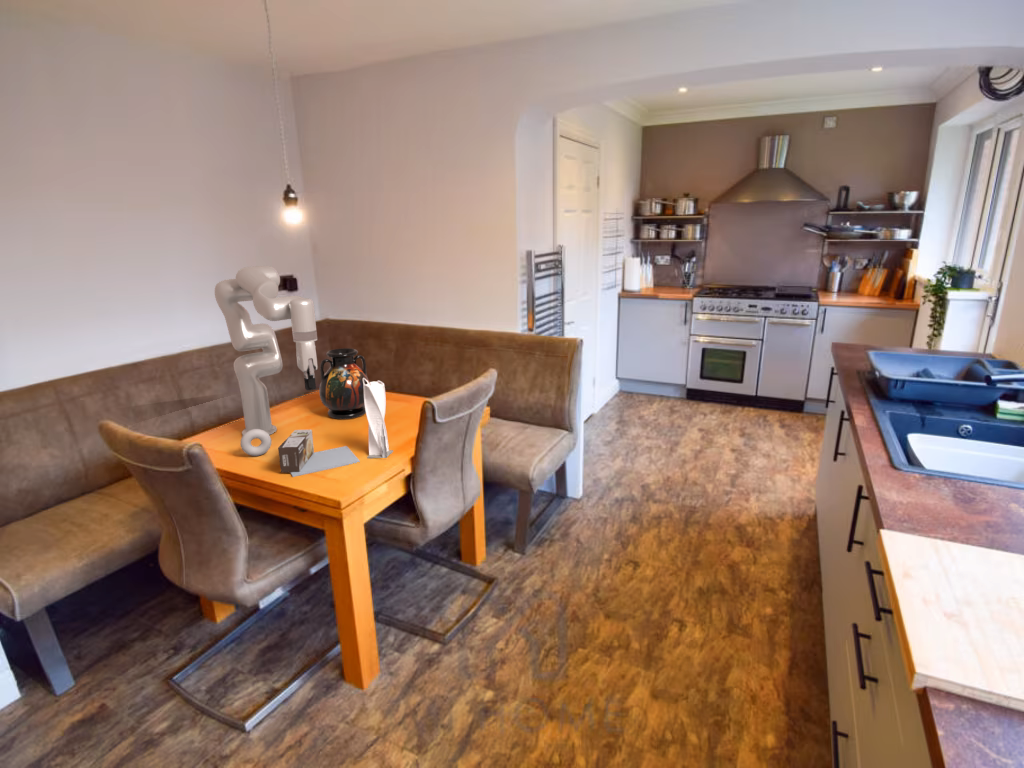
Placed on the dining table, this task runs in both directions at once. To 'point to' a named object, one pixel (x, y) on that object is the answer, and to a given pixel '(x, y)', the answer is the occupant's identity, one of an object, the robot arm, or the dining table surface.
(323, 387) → the amphora vase
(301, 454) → the coffee box
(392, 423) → the dining table surface
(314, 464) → the mat
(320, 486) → the dining table surface
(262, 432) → the donut
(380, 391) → the skyscraper
